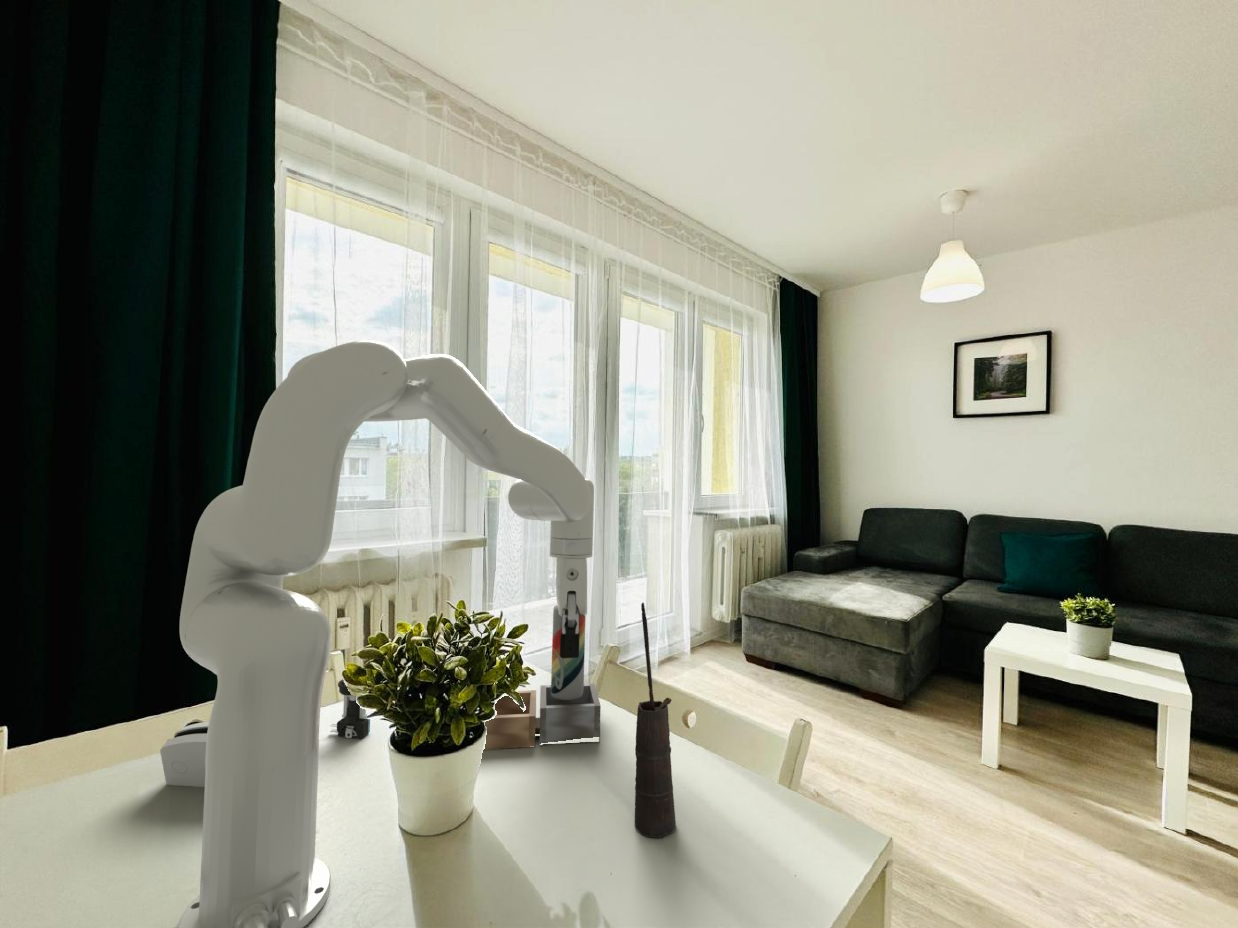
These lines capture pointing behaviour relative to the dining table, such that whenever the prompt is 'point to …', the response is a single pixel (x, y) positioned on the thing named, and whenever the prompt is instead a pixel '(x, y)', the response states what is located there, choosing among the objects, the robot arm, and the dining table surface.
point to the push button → (351, 717)
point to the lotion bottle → (567, 662)
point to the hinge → (186, 756)
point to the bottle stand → (544, 719)
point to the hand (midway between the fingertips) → (568, 650)
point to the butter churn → (653, 762)
